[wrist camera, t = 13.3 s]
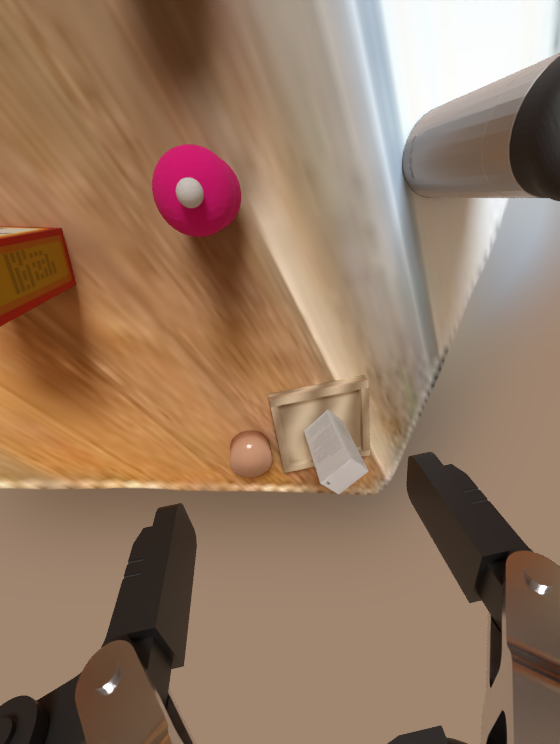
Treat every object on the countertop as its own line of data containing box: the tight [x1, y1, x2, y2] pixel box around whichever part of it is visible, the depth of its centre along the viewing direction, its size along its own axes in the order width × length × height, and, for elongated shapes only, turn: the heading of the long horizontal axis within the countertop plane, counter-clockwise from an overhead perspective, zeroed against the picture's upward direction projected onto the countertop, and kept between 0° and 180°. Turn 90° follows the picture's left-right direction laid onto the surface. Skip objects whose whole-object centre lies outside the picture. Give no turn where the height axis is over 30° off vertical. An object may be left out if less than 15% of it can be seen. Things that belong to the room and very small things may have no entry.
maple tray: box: [268, 375, 370, 473], centre depth 55 cm, size 16×16×2 cm
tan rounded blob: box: [230, 431, 272, 477], centre depth 55 cm, size 7×7×4 cm
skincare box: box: [304, 409, 368, 494], centre depth 50 cm, size 6×4×12 cm
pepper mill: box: [152, 145, 241, 237], centre depth 29 cm, size 7×7×20 cm
